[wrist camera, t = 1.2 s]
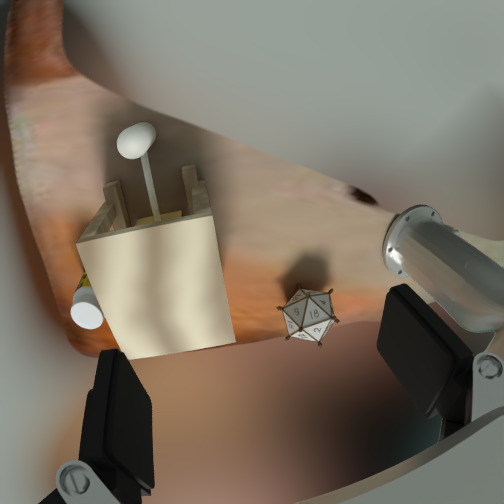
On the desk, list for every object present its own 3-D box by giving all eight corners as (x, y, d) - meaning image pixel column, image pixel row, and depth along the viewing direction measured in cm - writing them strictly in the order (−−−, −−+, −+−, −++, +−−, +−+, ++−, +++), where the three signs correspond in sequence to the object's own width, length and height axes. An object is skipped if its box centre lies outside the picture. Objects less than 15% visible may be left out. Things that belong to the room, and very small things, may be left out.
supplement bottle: (88, 256, 36) (69, 293, 29) (121, 267, 38) (109, 306, 30) (82, 285, 38) (66, 324, 30) (113, 295, 39) (102, 336, 32)
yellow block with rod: (165, 117, 31) (159, 120, 25) (190, 250, 39) (191, 280, 33) (117, 128, 30) (101, 134, 24) (148, 258, 38) (143, 289, 32)
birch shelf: (201, 162, 34) (208, 191, 24) (221, 280, 42) (235, 342, 31) (102, 184, 32) (68, 222, 22) (136, 296, 40) (126, 359, 30)
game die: (298, 275, 48) (350, 275, 40) (310, 323, 50) (360, 330, 42) (255, 297, 43) (307, 303, 35) (271, 349, 45) (321, 363, 36)
